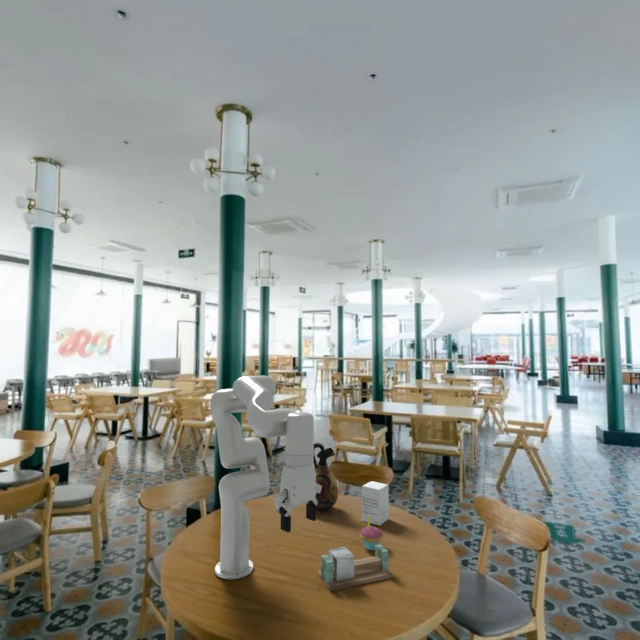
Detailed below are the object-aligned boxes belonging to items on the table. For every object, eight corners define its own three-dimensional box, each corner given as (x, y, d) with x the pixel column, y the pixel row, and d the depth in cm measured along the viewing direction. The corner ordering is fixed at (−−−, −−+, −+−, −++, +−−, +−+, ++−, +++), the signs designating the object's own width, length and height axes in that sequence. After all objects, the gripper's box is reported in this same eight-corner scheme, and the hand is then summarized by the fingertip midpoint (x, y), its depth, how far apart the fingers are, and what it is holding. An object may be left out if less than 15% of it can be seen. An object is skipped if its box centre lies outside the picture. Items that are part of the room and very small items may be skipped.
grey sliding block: (328, 570, 135) (328, 549, 135) (345, 567, 137) (345, 546, 137) (336, 581, 128) (336, 559, 129) (354, 577, 130) (354, 555, 131)
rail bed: (318, 575, 135) (318, 552, 135) (376, 563, 143) (376, 541, 144) (330, 591, 126) (330, 566, 126) (392, 577, 134) (392, 554, 134)
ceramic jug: (343, 506, 196) (343, 442, 198) (330, 518, 181) (331, 449, 184) (310, 501, 202) (311, 439, 205) (296, 512, 188) (297, 445, 191)
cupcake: (355, 547, 154) (355, 514, 155) (369, 540, 161) (369, 508, 162) (374, 555, 149) (374, 520, 150) (387, 547, 155) (387, 514, 156)
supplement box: (371, 514, 186) (371, 480, 188) (389, 519, 181) (389, 484, 182) (361, 521, 179) (361, 485, 180) (379, 526, 174) (379, 489, 175)
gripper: (310, 451, 120) (310, 512, 119) (266, 463, 107) (264, 531, 106) (330, 455, 115) (330, 519, 114) (286, 468, 102) (285, 540, 101)
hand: (298, 524), depth 110 cm, fingers open, 9 cm apart
